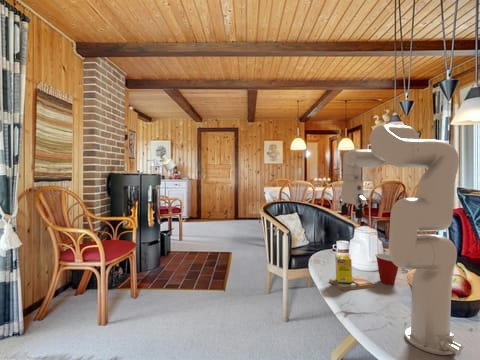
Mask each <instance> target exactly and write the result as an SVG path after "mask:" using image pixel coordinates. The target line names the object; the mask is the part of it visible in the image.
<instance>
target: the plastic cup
mask: <svg viewBox="0 0 480 360" xmlns="http://www.w3.org/2000/svg"><path fill="white" fill-rule="evenodd" d="M375 257H376V263H377V268H378V270H377V271H378V275H379V280H380V282H381V283H383V284H385V285H394V284H395V282H396V279H397V275H398V270H399V267H397V266H396V265H395V264H394V263H393V262H392V260H391V258H390V254H389V253H375Z"/></svg>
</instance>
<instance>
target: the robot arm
mask: <svg viewBox="0 0 480 360" xmlns="http://www.w3.org/2000/svg"><path fill="white" fill-rule="evenodd" d="M418 136H419V135H418V132H417V131H416V129H415V128H413V127H411V126H409V125H408V126H407V125H402V124H398V125H395V124H380V125H378V126H376V127H375V128H373V130H372V131H371V132H370V135H369V145H370V149H352V150H350V151H345V152H344V153H343V155H342V156H343V157H342V159H343V160H342V185H341V191H340V192H341V195H339V196H338V202H339V204H340V207H341V208H340V215H341V216H348V214H349V211H348V210H349V209H348V205H349V204H350V205H354V207H355V211H354V213H355V219H362V218H363V209H364V208H365V206H366V202H367V199H366V198H365V197H364V186H363V182H362V168H379V167H381V166H384V165H386V164H389V165H390V166H393V167H396V168H424V169H425V168H426V170H425V171H424V172H423V174H422V175H421V177H420V179H419V181H418V188H417V189H418V191H417V197H403V198H400V199H398V200H397V201H395V202H394V204H393V206H392V208H391V210H390V216H389V232H388V233H389V234H388V252H389V253H388V254H389V255H390V258H391V260H392V262H393V263H394V264H395V265H396V266H397V267H398V269H403V270H414V273H413V274H412V280H411V308H410V309H411V310H410V311H411V312H410V315H411V316H410V327H408V328H406V329H405V330H404V337H405V339H406V340H407V342H409V343H410V344H411V345H412V346H413V347H416V348H418V349H420V350H421V351H425V352H427V353H430V354H434V355H440V356H450V355H455V356H457V357H459V356H460V355H461V354H462V351H463V349H464V346H463V345H461V344H460V343H458V342H456V341H455V338H454V337H455V334H453V333H452V332H451V317H452V316H451V311H452V309H451V308H452V306H451V305H452V283H453V275H454V270H455V266H456V263H457V260H458V252H457V247H456V245H455V243H454V242H453V241H452V240H451V239H450V238H448V237H447V236H444V235H440V234H431V233H430V234H418V232H436V231H437V232H438V231H444V230H447V229H449V228H450V227H451V225H452V222H453V216H454V215H453V214H454V201H455V199H454V198H455V185H456V184H455V183H456V179H457V174H458V170H459V164H460V163H459V161H460V158H459V154H458V153H459V152H458V151H457V149H456V148H455V147H454V146H453V145H452V144H450V143H448V142H447V141H444V140H439V139H427V138H426V139H425V138H424V139H421V138H419V137H418ZM418 138H419V139H418Z"/></svg>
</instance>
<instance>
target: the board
mask: <svg viewBox="0 0 480 360" xmlns="http://www.w3.org/2000/svg"><path fill="white" fill-rule="evenodd" d="M328 282H329V283H330V284H332V285H334V286H335V287H336V288H337V289H339V290H341V291H343V292H344V291H352V290H361V289H368V288H375V283H373V282H371V281H369V280H368V279H366V278H364V277H362V276H359V275H356V276H352V284H338V282H337V279H336V278H331V279H330V278H329V280H328Z"/></svg>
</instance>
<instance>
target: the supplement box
mask: <svg viewBox="0 0 480 360" xmlns="http://www.w3.org/2000/svg"><path fill="white" fill-rule="evenodd" d="M334 257H335V259H334V261H335V279H337V282H338V284H352V277H353V273H352V272H353V270H352V269H353V268H352V258H351V256H350V255H348V254H335V256H334Z"/></svg>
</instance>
